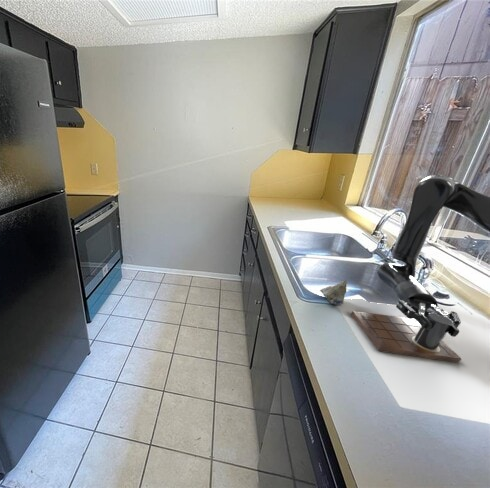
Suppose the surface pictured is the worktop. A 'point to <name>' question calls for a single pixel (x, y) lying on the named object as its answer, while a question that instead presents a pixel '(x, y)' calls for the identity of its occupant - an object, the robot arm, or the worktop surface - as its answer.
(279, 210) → the worktop surface
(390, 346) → the board
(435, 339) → the black cylinder
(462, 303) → the worktop surface
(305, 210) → the worktop surface
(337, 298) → the rock
